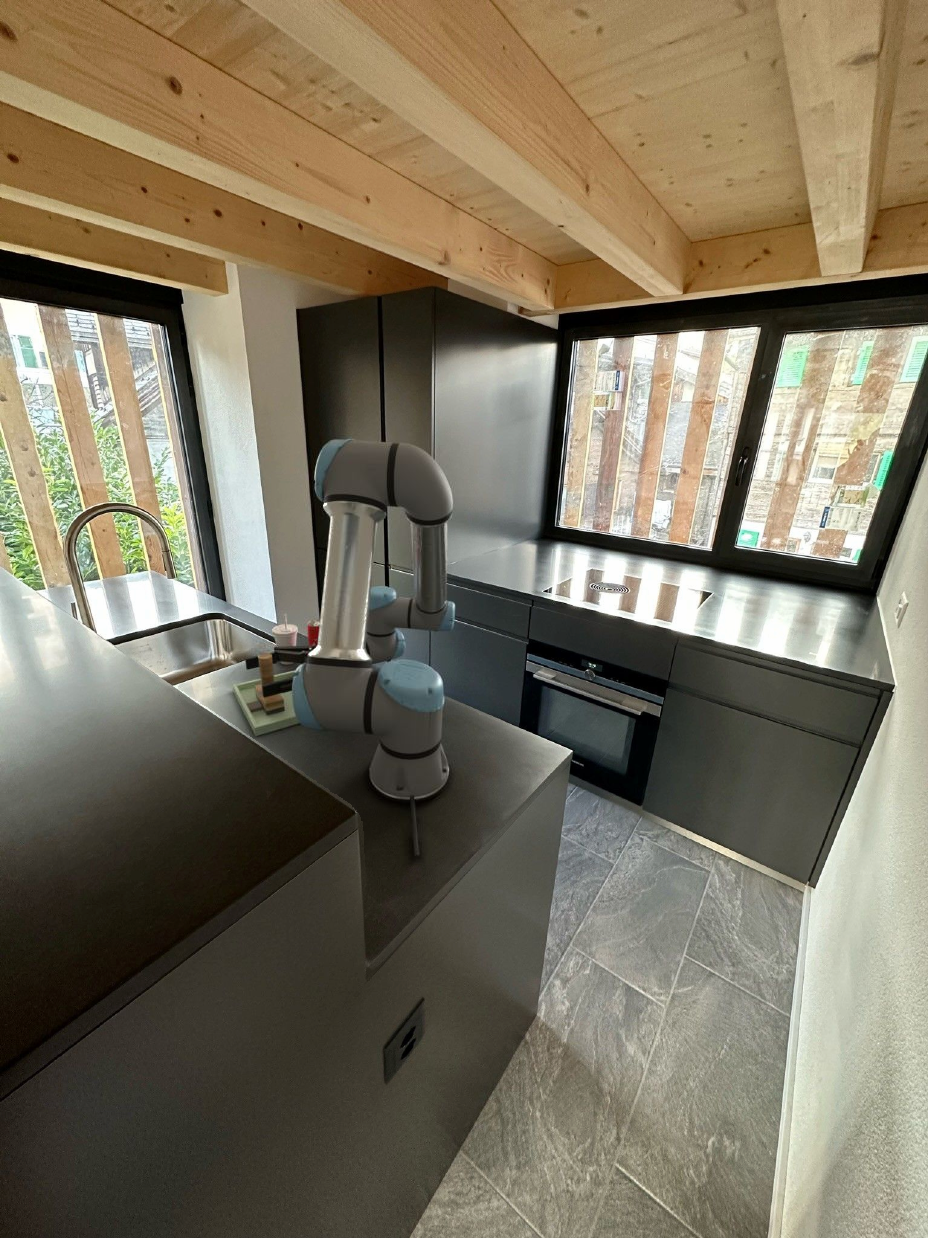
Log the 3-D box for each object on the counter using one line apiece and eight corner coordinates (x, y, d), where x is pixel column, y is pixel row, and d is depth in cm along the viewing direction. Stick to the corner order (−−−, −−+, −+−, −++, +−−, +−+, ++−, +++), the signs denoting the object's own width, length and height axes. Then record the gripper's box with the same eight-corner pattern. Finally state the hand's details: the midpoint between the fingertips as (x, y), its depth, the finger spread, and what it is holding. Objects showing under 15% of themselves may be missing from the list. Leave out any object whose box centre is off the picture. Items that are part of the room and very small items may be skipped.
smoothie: (284, 669, 134) (280, 620, 128) (270, 661, 138) (265, 613, 132) (305, 661, 139) (301, 613, 133) (290, 653, 142) (286, 606, 137)
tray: (331, 713, 117) (330, 706, 117) (255, 736, 108) (254, 728, 108) (302, 675, 132) (301, 668, 131) (233, 692, 123) (232, 685, 122)
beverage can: (332, 659, 140) (330, 619, 136) (325, 668, 136) (323, 627, 131) (313, 657, 141) (311, 617, 136) (306, 666, 136) (303, 625, 131)
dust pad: (263, 709, 116) (262, 706, 116) (249, 713, 115) (248, 710, 114) (259, 703, 119) (259, 700, 118) (245, 706, 117) (245, 703, 117)
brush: (284, 710, 116) (280, 662, 111) (266, 716, 114) (261, 666, 109) (273, 692, 123) (268, 645, 118) (255, 696, 121) (250, 649, 116)
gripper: (366, 692, 118) (272, 719, 106) (325, 648, 136) (241, 667, 124) (366, 664, 115) (269, 688, 103) (324, 623, 133) (238, 639, 121)
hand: (253, 677), depth 114 cm, fingers open, 13 cm apart
